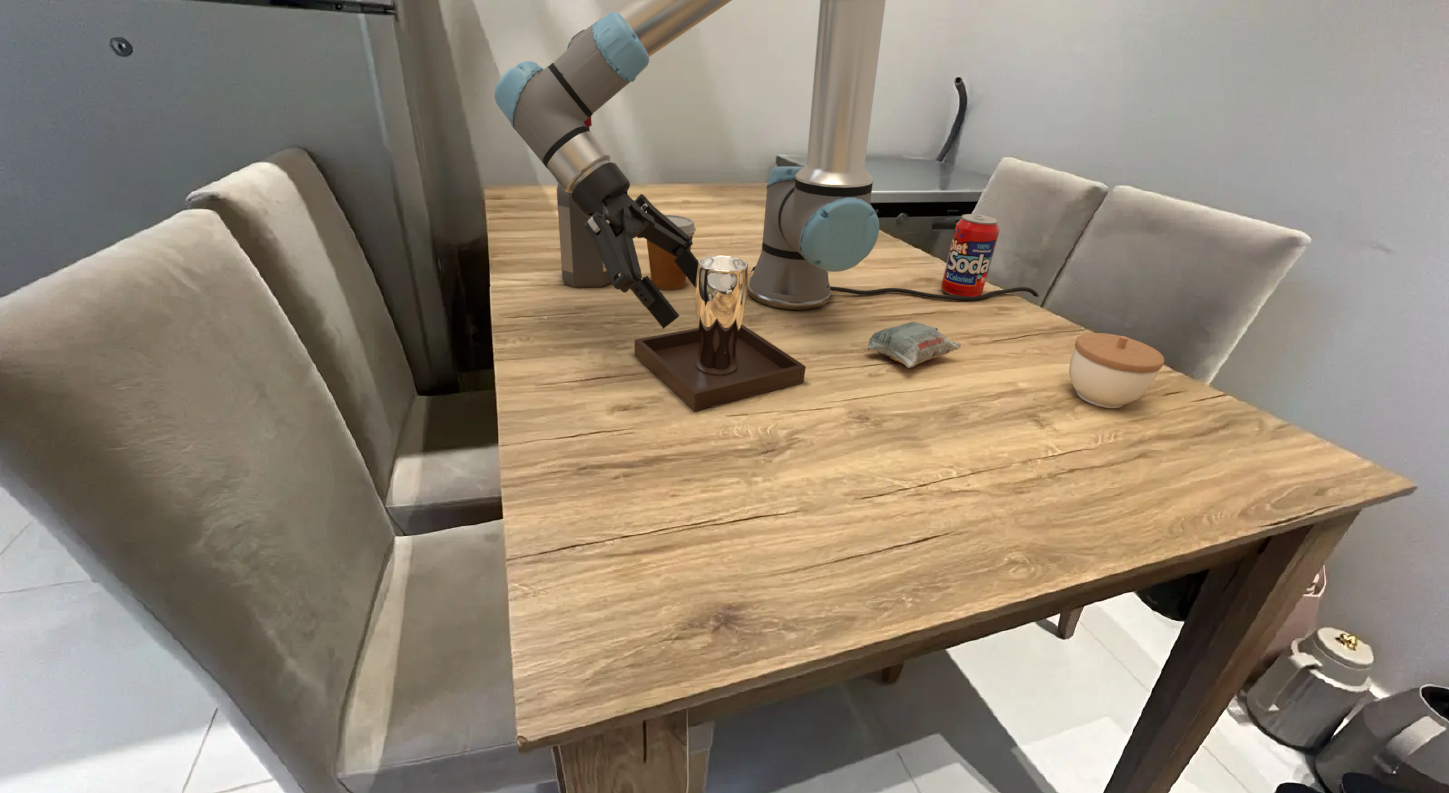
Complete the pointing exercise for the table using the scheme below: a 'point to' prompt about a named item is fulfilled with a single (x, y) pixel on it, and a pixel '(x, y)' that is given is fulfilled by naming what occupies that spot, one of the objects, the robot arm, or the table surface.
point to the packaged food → (911, 343)
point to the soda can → (970, 255)
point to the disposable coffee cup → (669, 258)
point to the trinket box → (1112, 369)
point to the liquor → (578, 244)
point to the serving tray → (699, 390)
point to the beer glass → (719, 311)
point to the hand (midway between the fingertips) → (691, 305)
